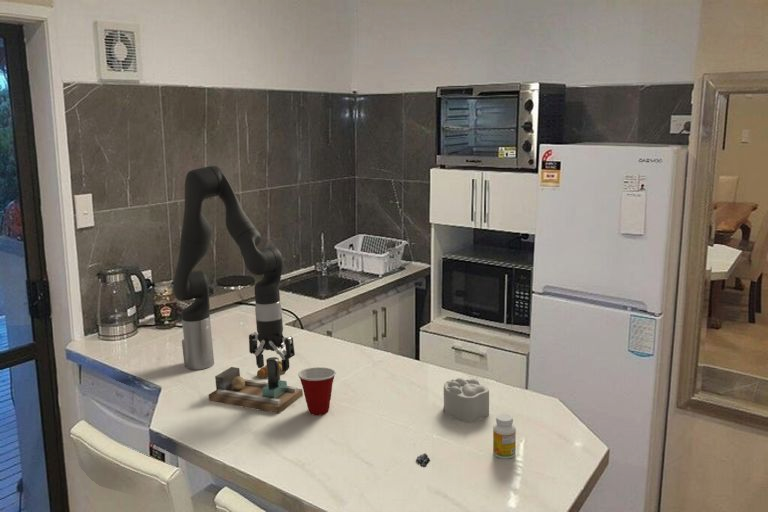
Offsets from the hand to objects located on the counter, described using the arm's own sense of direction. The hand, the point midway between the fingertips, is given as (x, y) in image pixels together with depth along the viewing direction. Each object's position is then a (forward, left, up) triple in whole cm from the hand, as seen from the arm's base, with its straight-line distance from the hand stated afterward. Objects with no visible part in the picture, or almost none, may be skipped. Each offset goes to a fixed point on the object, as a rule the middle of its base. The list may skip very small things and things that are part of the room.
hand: (273, 369), depth 187 cm
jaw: (0, 0, -8) cm, 8 cm away
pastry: (-13, +18, -11) cm, 25 cm away
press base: (-7, 0, -10) cm, 13 cm away
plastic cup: (+15, -1, -11) cm, 19 cm away
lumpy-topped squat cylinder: (+54, +13, -11) cm, 57 cm away
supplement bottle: (+70, -6, -11) cm, 71 cm away
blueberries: (+53, -16, -11) cm, 57 cm away
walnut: (-13, 0, -6) cm, 15 cm away
